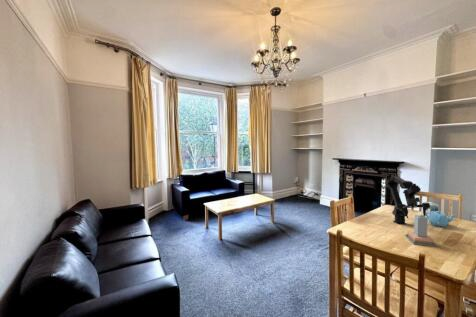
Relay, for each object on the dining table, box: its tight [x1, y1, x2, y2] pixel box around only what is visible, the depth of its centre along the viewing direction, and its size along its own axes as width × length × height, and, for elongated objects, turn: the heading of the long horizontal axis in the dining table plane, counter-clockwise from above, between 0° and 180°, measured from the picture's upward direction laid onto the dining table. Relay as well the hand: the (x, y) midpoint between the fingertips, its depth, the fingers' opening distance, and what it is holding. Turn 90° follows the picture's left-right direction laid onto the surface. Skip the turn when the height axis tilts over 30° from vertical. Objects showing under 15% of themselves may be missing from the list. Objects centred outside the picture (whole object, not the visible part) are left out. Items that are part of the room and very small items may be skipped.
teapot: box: [425, 210, 456, 228], centre depth 165 cm, size 13×14×11 cm
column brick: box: [413, 214, 429, 237], centre depth 140 cm, size 5×5×14 cm
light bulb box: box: [421, 201, 440, 217], centre depth 186 cm, size 11×7×11 cm, turn 168°
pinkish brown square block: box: [404, 231, 437, 248], centre depth 140 cm, size 12×12×4 cm
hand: (416, 218), depth 149 cm, fingers open, 9 cm apart
